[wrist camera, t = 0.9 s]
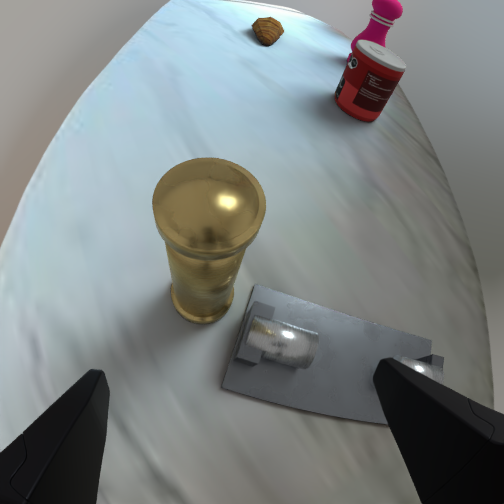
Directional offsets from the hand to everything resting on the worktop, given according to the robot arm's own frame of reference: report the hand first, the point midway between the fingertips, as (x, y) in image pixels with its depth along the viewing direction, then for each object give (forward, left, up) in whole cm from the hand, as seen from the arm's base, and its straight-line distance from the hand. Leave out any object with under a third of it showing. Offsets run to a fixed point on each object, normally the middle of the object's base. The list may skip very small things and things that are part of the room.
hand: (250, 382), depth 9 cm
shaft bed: (+6, -8, -14) cm, 18 cm away
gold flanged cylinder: (+6, +5, -14) cm, 16 cm away
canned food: (+43, +2, -15) cm, 46 cm away
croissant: (+57, +24, -15) cm, 64 cm away
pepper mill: (+62, +5, -15) cm, 64 cm away
